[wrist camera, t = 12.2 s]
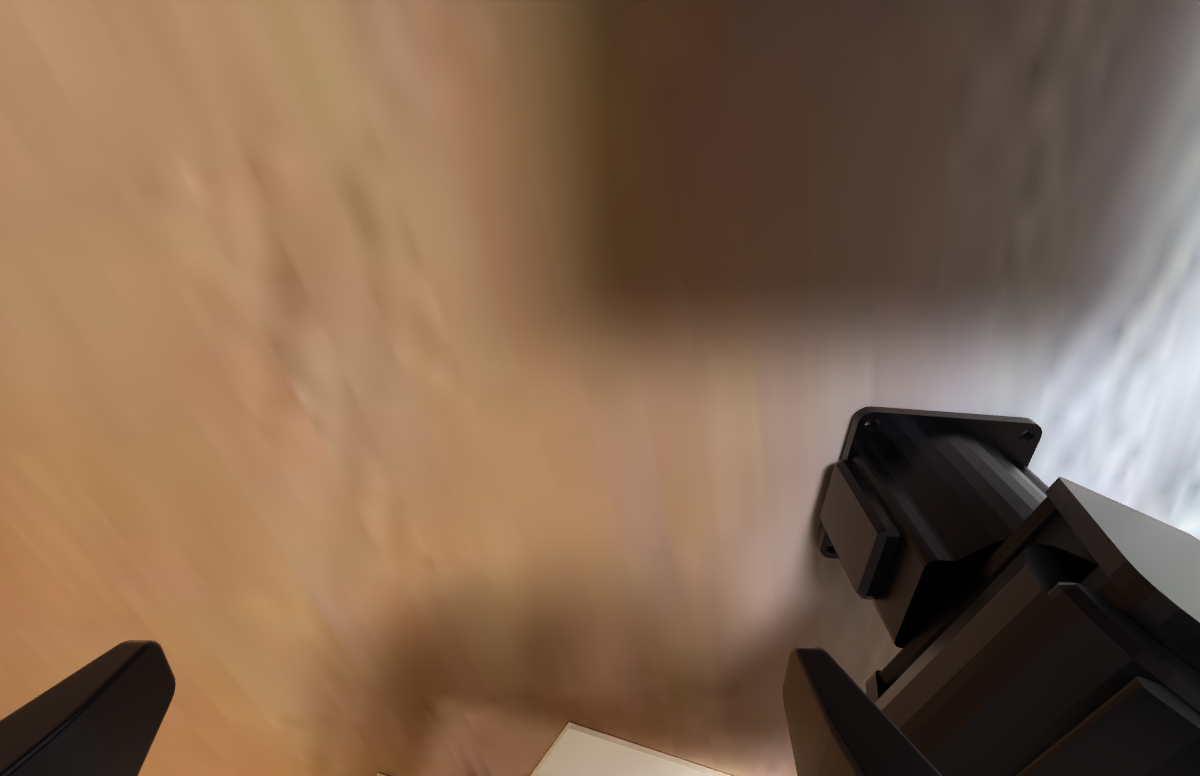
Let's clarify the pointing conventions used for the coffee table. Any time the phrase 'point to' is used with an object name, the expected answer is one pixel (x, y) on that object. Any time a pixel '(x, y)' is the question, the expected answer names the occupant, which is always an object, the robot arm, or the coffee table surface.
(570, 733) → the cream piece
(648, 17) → the coffee table surface
